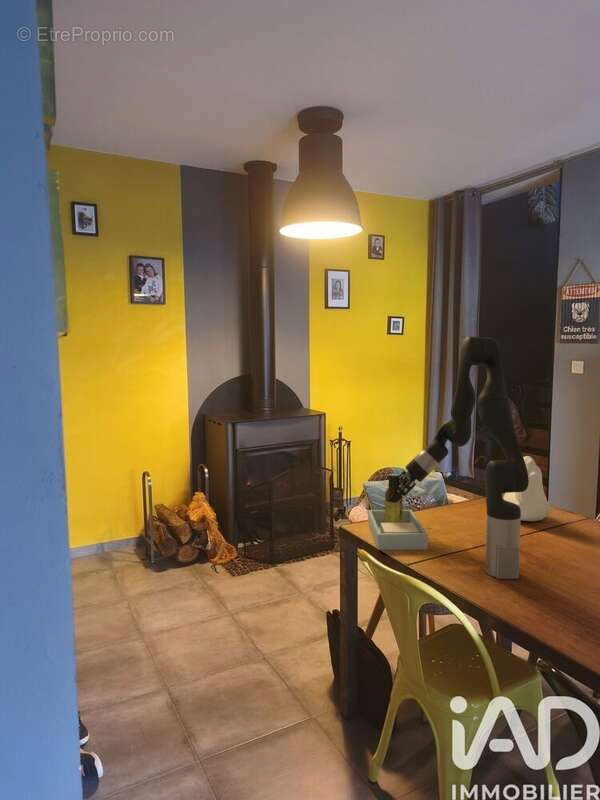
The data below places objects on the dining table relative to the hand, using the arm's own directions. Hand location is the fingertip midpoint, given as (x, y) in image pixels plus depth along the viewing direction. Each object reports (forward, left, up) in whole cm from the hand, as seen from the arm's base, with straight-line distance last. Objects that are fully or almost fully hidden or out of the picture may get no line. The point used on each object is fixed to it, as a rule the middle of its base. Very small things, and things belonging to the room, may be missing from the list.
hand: (389, 497), depth 190 cm
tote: (-6, -1, -13) cm, 14 cm away
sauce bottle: (0, -2, -12) cm, 12 cm away
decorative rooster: (+17, -55, -13) cm, 59 cm away
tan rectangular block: (-12, -1, -12) cm, 17 cm away
